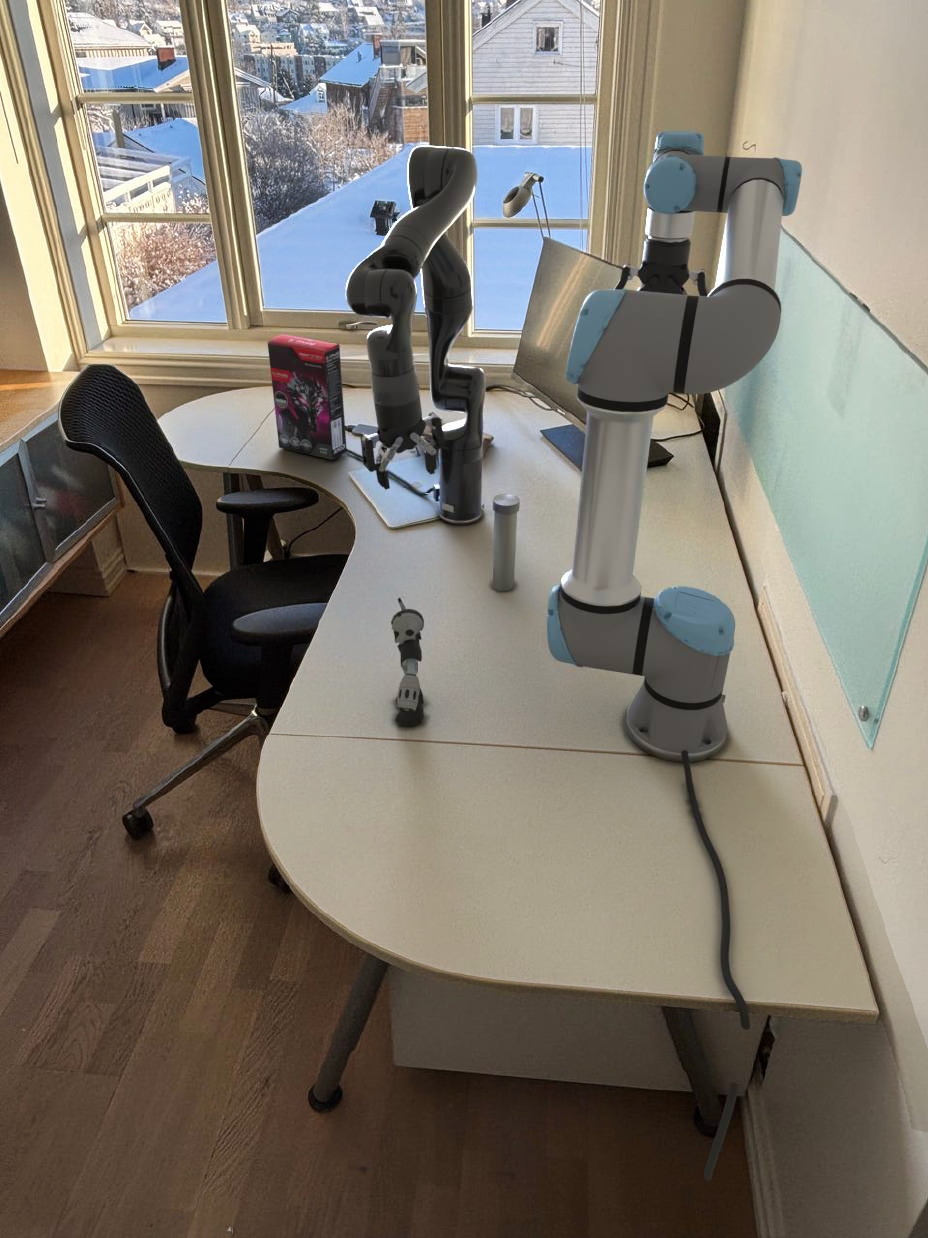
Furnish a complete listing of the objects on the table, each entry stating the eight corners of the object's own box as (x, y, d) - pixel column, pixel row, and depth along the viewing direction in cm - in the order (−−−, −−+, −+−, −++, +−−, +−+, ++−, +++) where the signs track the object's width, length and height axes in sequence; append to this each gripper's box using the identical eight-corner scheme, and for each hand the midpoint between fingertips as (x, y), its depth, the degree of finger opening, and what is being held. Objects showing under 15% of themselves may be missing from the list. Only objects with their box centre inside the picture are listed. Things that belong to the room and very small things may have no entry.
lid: (487, 507, 169) (487, 497, 168) (508, 500, 172) (509, 491, 171) (503, 517, 166) (503, 507, 165) (524, 510, 168) (525, 501, 167)
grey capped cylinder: (488, 584, 179) (490, 500, 169) (505, 578, 181) (508, 494, 171) (500, 593, 176) (503, 508, 166) (518, 587, 178) (522, 503, 168)
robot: (426, 751, 138) (424, 643, 127) (394, 752, 138) (389, 643, 127) (424, 672, 155) (422, 570, 143) (395, 673, 154) (391, 570, 143)
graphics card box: (276, 448, 231) (264, 340, 216) (293, 439, 236) (282, 332, 221) (333, 462, 225) (324, 351, 209) (349, 452, 230) (341, 343, 214)
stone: (396, 441, 228) (401, 417, 225) (415, 432, 241) (420, 409, 239) (476, 465, 224) (482, 442, 222) (491, 455, 237) (496, 432, 235)
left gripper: (426, 373, 154) (436, 458, 164) (346, 396, 149) (362, 482, 160) (445, 389, 148) (454, 476, 159) (364, 414, 144) (378, 502, 155)
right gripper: (746, 237, 151) (725, 364, 163) (595, 227, 157) (585, 351, 169) (746, 247, 145) (723, 378, 157) (589, 236, 151) (579, 364, 163)
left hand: (408, 479), depth 159 cm, fingers open, 8 cm apart
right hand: (652, 364), depth 163 cm, fingers open, 13 cm apart
